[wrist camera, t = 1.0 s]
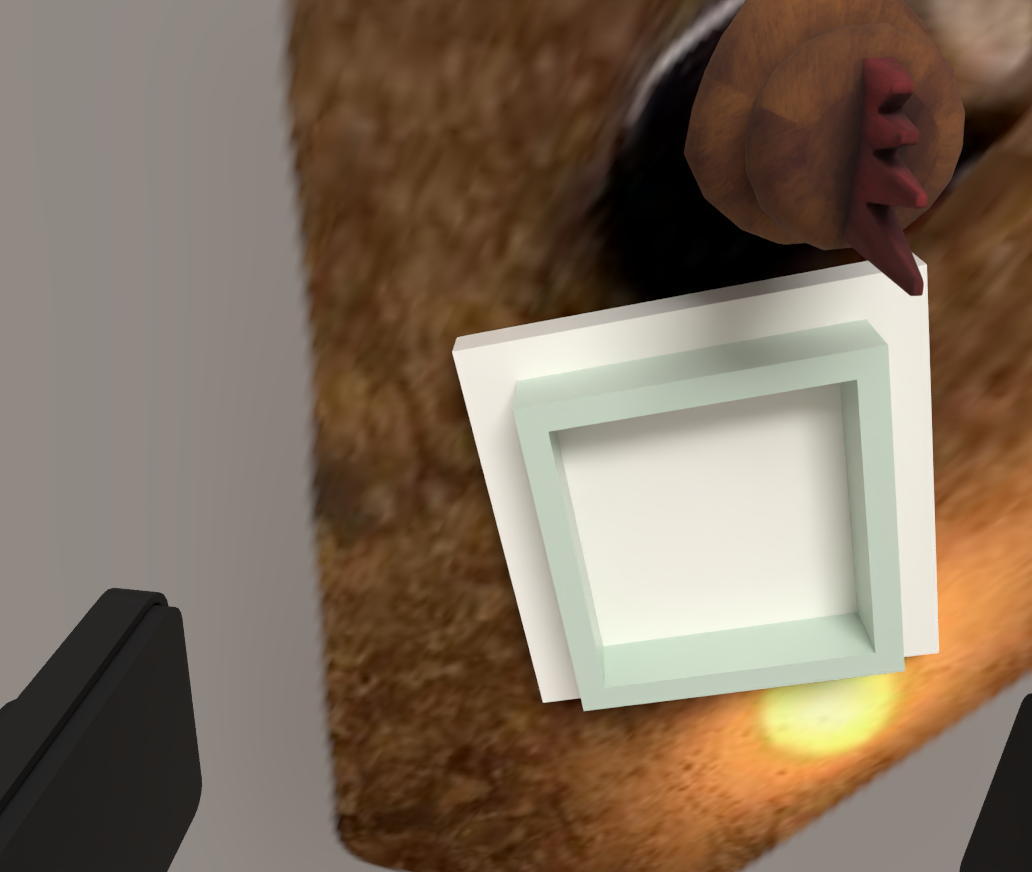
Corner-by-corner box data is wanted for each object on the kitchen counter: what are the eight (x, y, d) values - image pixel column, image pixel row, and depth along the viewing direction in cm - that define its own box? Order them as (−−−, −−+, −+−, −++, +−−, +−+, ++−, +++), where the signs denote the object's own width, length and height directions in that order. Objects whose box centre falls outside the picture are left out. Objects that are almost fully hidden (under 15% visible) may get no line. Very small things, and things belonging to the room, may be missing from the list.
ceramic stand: (912, 252, 32) (954, 286, 28) (926, 629, 39) (962, 695, 35) (457, 337, 34) (443, 378, 31) (544, 679, 41) (540, 746, 37)
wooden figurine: (809, 225, 32) (978, 404, 18) (650, 166, 31) (704, 307, 18) (910, 18, 29) (1199, 51, 15) (737, -51, 28) (880, -78, 15)
